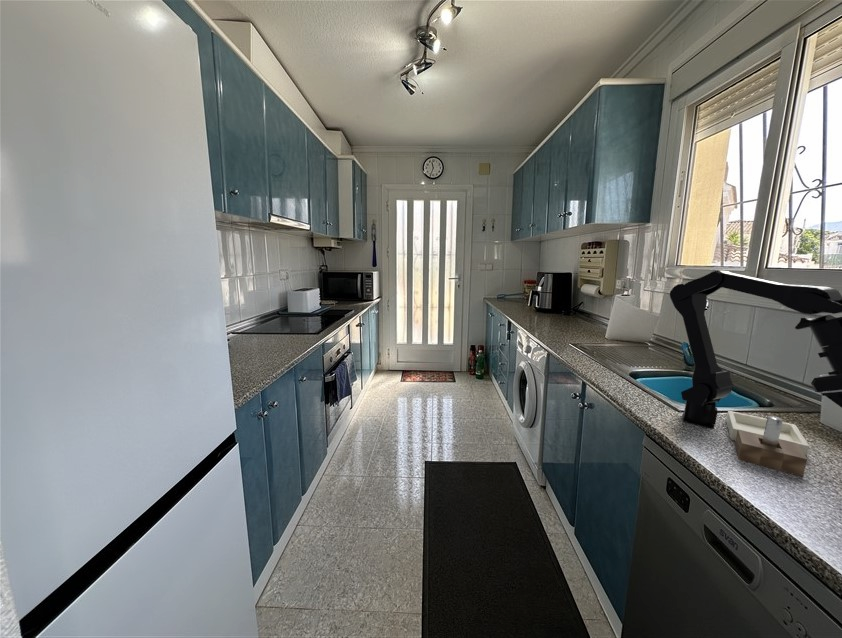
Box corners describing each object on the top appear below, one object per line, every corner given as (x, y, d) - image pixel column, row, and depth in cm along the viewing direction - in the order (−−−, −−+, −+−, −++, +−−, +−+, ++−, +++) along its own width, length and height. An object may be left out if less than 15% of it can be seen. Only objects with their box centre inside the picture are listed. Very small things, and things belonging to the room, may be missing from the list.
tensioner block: (738, 459, 78) (742, 443, 77) (734, 444, 84) (737, 429, 83) (803, 476, 72) (807, 459, 71) (793, 459, 78) (797, 443, 77)
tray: (731, 439, 86) (733, 428, 85) (726, 420, 96) (728, 410, 96) (806, 458, 78) (809, 446, 78) (792, 435, 88) (795, 424, 88)
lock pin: (759, 459, 77) (768, 418, 76) (758, 455, 79) (766, 415, 77) (774, 463, 76) (784, 422, 74) (772, 458, 78) (781, 418, 76)
